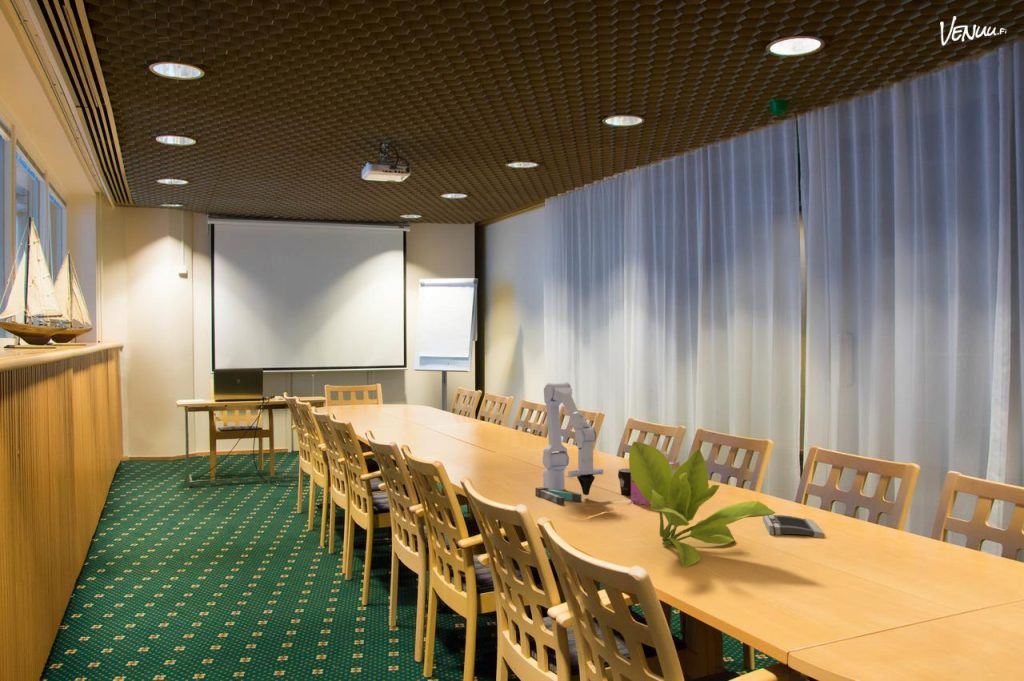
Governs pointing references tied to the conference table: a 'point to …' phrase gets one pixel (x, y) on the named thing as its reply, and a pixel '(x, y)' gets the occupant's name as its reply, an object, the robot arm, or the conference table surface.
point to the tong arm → (567, 495)
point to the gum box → (637, 495)
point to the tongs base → (548, 495)
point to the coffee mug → (625, 481)
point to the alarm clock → (791, 525)
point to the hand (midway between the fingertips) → (585, 494)
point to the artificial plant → (685, 499)
